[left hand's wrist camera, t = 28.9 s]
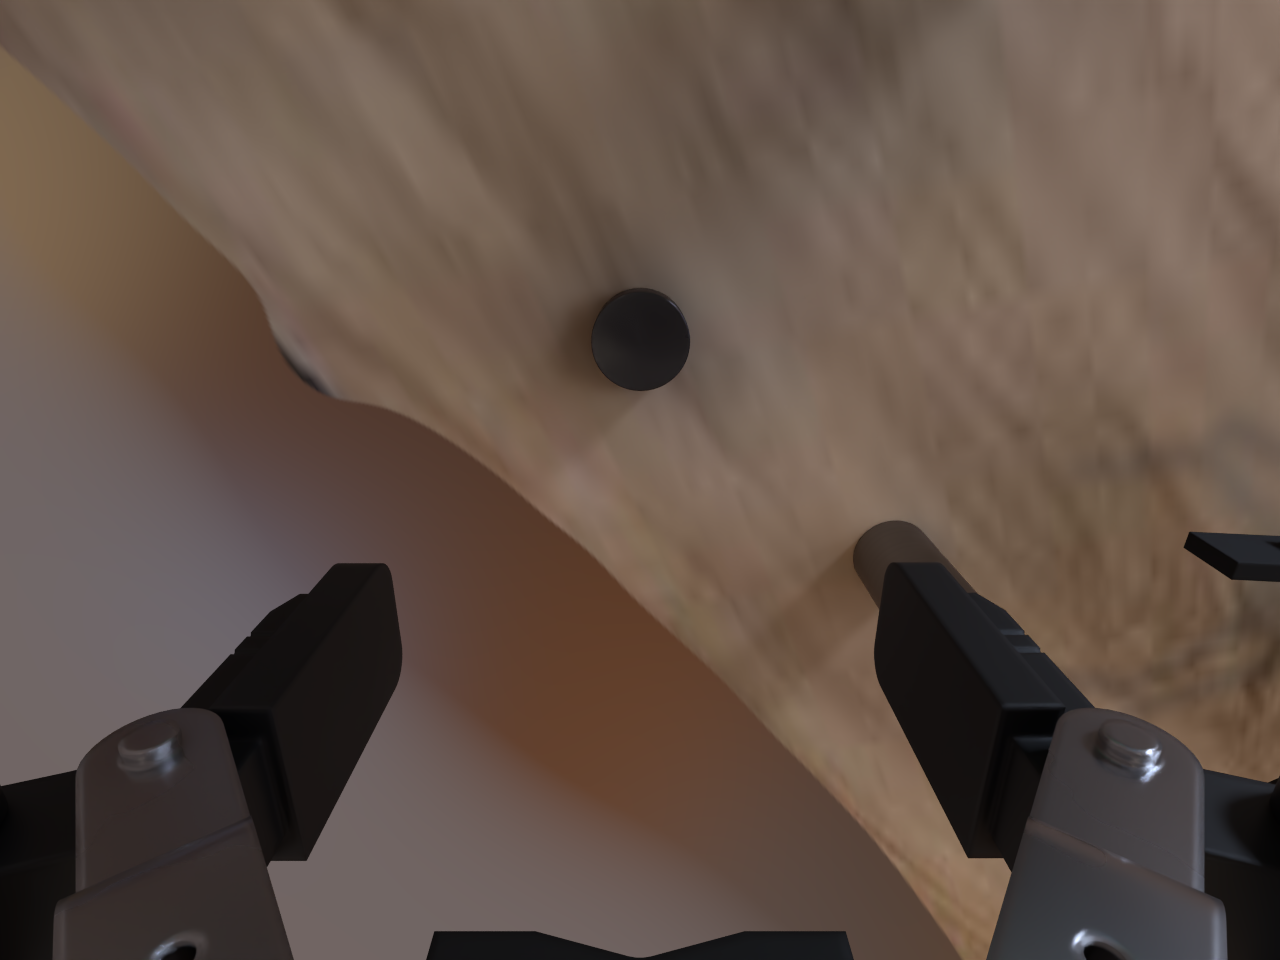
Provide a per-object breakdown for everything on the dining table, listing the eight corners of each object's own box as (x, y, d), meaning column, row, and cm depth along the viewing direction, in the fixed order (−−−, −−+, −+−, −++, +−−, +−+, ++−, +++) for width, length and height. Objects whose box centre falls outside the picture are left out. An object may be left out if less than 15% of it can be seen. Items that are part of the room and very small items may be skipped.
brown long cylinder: (897, 599, 42) (1043, 817, 27) (838, 567, 41) (953, 772, 26) (944, 542, 41) (1125, 737, 26) (883, 507, 40) (1033, 687, 25)
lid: (614, 272, 35) (612, 275, 34) (702, 310, 36) (706, 315, 34) (580, 361, 37) (577, 369, 35) (665, 395, 38) (666, 405, 36)
